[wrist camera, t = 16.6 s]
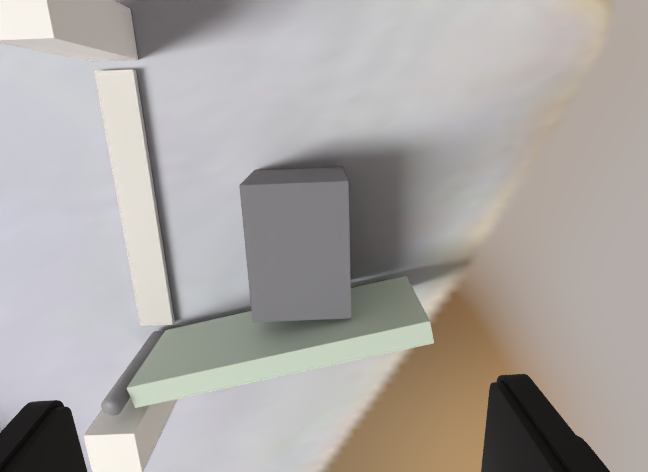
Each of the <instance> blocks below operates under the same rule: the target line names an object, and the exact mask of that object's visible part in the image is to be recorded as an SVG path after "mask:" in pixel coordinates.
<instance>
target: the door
mask: <svg viewBox="0 0 648 472" xmlns="http://www.w3.org/2000/svg"><path fill="white" fill-rule="evenodd" d="M432 343H434V341H433V335H432V330H431V325H430V320H429V319H428V317H427V315H426V313H425V311H424V309H423V307H422V305H421V303H420V301H419V299H418V298H417V296H416V294H415V292H414V290H413V288H412V286H411V284H410V282H409V280H408V279H407V277H406V276H403V277H398V278H394V279H389V280H385V281H381V282H376V283H372V284H367V285H363V286H359V287H354V288H351V318H346V319H322V320H298V321H274V322H253V320H252V311H248V312H244V313H239V314H235V315H231V316H226V317H222V318H217V319H213V320H209V321H204V322H200V323H195V324H191V325H186V326H182V327H178V328H173V329H169V330H165V332H164V333H163V332H161V331H155V332H153V333H152V334H151V336H150V337H149V338H148V340H147V341H146V342H145V344H144V345H143V347H142V348H141V349H140V351H139V352H138V354H137V355H136V356H135V358H134V359H133V360H132V362H131V363H130V365H129V366H128V367H127V369H126V370H125V371H124V373H123V374H122V376H121V377H120V378H119V380H118V381H117V382H116V384H115V385H114V387H113V388H112V389H111V391H110V392H109V393H108V395H107V396H106V398H105V399H104V400H103V402H102V404H101V408H102V410H103V411H104V412H105V413H106V414H108V415H112V416H114V415H118V414H120V413H121V411H122V410H123V408H124V407H125V405H126V403H127V402H128V400H129V399H130V397H131V399H132V402H133V404H134V406H135V408H138V407H142V406H147V405H152V404H156V403H161V402H165V401H170V400H175V399H179V398H184V397H188V396H193V395H198V394H202V393H207V392H211V391H216V390H221V389H225V388H230V387H234V386H239V385H244V384H248V383H253V382H257V381H262V380H267V379H271V378H276V377H280V376H285V375H290V374H294V373H299V372H303V371H308V370H313V369H317V368H322V367H326V366H331V365H336V364H340V363H345V362H349V361H354V360H359V359H363V358H368V357H372V356H377V355H382V354H386V353H391V352H395V351H400V350H405V349H409V348H414V347H418V346H423V345H428V344H432Z"/></svg>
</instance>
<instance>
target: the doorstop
mask: <svg viewBox="0 0 648 472" xmlns="http://www.w3.org/2000/svg"><path fill="white" fill-rule="evenodd" d="M240 195H241V206H242V216H243V227H244V237H245V247H246V258H247V268H248V279H249V289H250V299H251V310H252V320H253V322H274V321H298V320H322V319H346V318H351V279H350V232H349V184H348V179H347V176H346V174H345V172H344V169H343V167H324V168H299V169H274V170H254V171H253V172H252V173H251V174H250V175H249V176H248V177H247V178H246V179H245V180H244V181H243V182H242V183H241V184H240Z"/></svg>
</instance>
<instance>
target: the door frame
mask: <svg viewBox="0 0 648 472" xmlns="http://www.w3.org/2000/svg"><path fill="white" fill-rule="evenodd" d="M0 43H1V44H6V45H11V46H17V47H22V48H27V49H32V50H37V51H42V52H47V53H52V54H57V55H62V56H67V57H72V58H77V59H82V60H87V61H92V62H93V61H120V60H138V55H137V49H136V42H135V35H134V29H133V22H132V16H131V9H129V8H128V7H126V6H124V5H122V4H120V3H118V2H116V1H114V0H0ZM94 72H95V78H96V83H97V89H98V94H99V100H100V105H101V111H102V116H103V122H104V127H105V133H106V138H107V144H108V150H109V155H110V161H111V166H112V172H113V177H114V183H115V188H116V194H117V199H118V205H119V210H120V216H121V221H122V227H123V232H124V238H125V244H126V249H127V255H128V260H129V266H130V271H131V277H132V282H133V288H134V293H135V299H136V304H137V310H138V315H139V321H140V326H150V325H173V323H174V322H175V320H174V314H173V307H172V301H171V294H170V288H169V281H168V275H167V268H166V262H165V255H164V249H163V242H162V236H161V229H160V223H159V216H158V210H157V203H156V197H155V190H154V184H153V177H152V171H151V164H150V158H149V151H148V145H147V138H146V132H145V125H144V119H143V112H142V106H141V100H140V93H139V87H138V80H137V74H136V70H107V71H94ZM176 402H177V399H175V400H170V401H165V402H161V403H156V404H152V405H147V406H142V407H138V408H135V406H134V404H133V402H132V399H131V397H130V399H129V400H128V402H127V403H126V405H125V407H124V408H123V410H122V411H121V413H120V414H118V415H114V416H112V415H108V414H106V413H105V412H104V411H103V410H101V412H100V413H99V414H98V416H97V417H96V419H95V420H94V421H93V423H92V424H91V426H90V427H89V429H88V430H87V431H86V433H85V434H84V440H85V444H86V448H87V452H88V456H89V460H90V464H91V468H92V472H143V471H144V469H145V467H146V465H147V463H148V461H149V458H150V456H151V454H152V452H153V450H154V448H155V446H156V444H157V442H158V439H159V437H160V435H161V433H162V431H163V429H164V427H165V425H166V423H167V421H168V418H169V416H170V414H171V412H172V410H173V408H174V406H175V404H176Z"/></svg>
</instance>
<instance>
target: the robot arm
mask: <svg viewBox="0 0 648 472" xmlns="http://www.w3.org/2000/svg"><path fill="white" fill-rule="evenodd" d="M0 472H87V469H86V465H85V461H84V457H83V454H82V450H81V446H80V442H79V439H78V435H77V431H76V427H75V424H74V420H73V416H72V412H71V410H70V409H69V408H68V407H64V405H63V403H62V402H61V401H58V400H54V401H37V402H30V403H28V404H27V405H25V406H24V407H23V408H22V410H21V411H20V412H19V413H18V414H17V415H16V416H15V417H14V418H13V419H12V421H11V422H10V423H9V424H8V425H7V426H6V427H5V428H4V429H3V430H2V432H1V433H0ZM481 472H610V471H609V470H608V468H607V467H606V466H605V465H604V464H603V462H602V461H601V460H600V459H599V457H598V456H597V455H596V454H595V452H594V451H593V450H592V449H591V448H590V446H589V445H588V444H587V443H586V442H585V441H584V440H583V439H582V438H581V437H579V436H577V435H575V433H574V432H573V431H572V430H571V428H570V427H569V426H568V425H567V423H566V422H565V421H564V420H563V418H562V417H561V416H560V415H559V413H558V412H557V411H556V410H555V408H554V407H553V406H552V405H551V403H550V402H549V401H548V400H547V398H546V397H545V396H544V395H543V393H542V392H541V391H540V390H539V388H538V387H537V386H536V385H535V383H534V382H533V381H532V380H531V378H530V377H529V376H528V375H526V374H516V375H501V376H499V377H498V379H497V382H495V383H491V385H490V390H489V400H488V410H487V420H486V430H485V440H484V449H483V459H482V470H481Z"/></svg>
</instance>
